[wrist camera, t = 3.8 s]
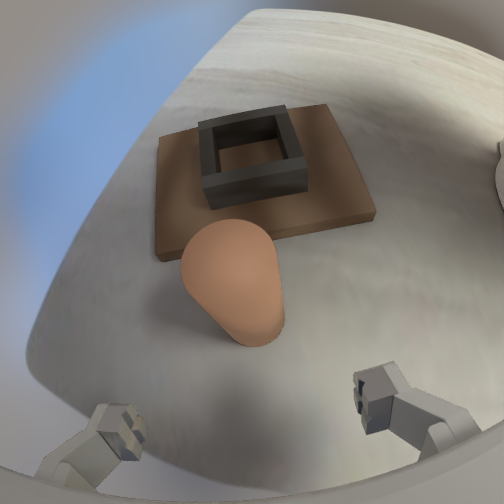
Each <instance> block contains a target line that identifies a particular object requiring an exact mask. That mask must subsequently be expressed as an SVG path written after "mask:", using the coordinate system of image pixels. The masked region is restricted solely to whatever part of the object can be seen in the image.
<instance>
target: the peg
mask: <svg viewBox="0 0 504 504" xmlns="http://www.w3.org/2000/svg"><path fill="white" fill-rule="evenodd" d="M181 277H182V281H183V283H184V286H185V288H186V289H187V291H188V292H189V293H190V295H191V296H192V297H193V298H194V299H195V300H196V301H197V302H198V303H199V304H200V305H201V306H202V307H203V308H204V309H205V310H206V311H207V313H208V314H209V315H210V316H211V317H212V318H213V319H214V320H215V321H216V322H217V323H218V324H219V325H220V326H221V327H222V328H223V329H224V330H225V331H226V332H227V333H228V334H229V335H230V336H231V337H232V338H233V339H234V340H236V341H237V342H239V343H240V344H242V345H245V346H249V347H259V346H263V345H266V344H268V343H270V342H272V341H273V340H274V339H275V338H276V337H277V336H278V335H279V334H280V332H281V331H282V328H283V326H284V321H285V313H284V305H283V297H282V290H281V282H280V274H279V266H278V259H277V252H276V248H275V245H274V243H273V241H272V239H271V238H270V236H269V235H268V234H267V233H266V232H265V231H264V230H263V229H262V228H260V227H259V226H257V225H256V224H254V223H251V222H248V221H245V220H240V219H226V220H221V221H217V222H214V223H212V224H210V225H208V226H206V227H204V228H203V229H201V230H200V231H199V232H197V233H196V234H195V235H194V236H193V237H192V239H191V240H190V241H189V243H188V244H187V246H186V248H185V250H184V252H183V255H182V259H181Z"/></svg>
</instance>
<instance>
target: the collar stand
mask: <svg viewBox="0 0 504 504" xmlns="http://www.w3.org/2000/svg"><path fill="white" fill-rule="evenodd" d="M375 213H376V209H375V207H374V204H373V202H372V199H371V197H370V194H369V192H368V190H367V187H366V185H365V183H364V180H363V178H362V176H361V174H360V171H359V169H358V167H357V165H356V163H355V160H354V158H353V156H352V154H351V152H350V150H349V148H348V146H347V144H346V141H345V139H344V137H343V135H342V133H341V131H340V129H339V127H338V125H337V123H336V121H335V120H334V118H333V116H332V114H331V112H330V110H329V108H328V106H327V104H322V105H314V106H306V107H299V108H292V109H286V106H285V105H280V106H274V107H268V108H263V109H257V110H252V111H246V112H241V113H236V114H232V115H227V116H222V117H218V118H214V119H209V120H205V121H201V122H198V127H196V128H192V129H189V130H185V131H181V132H177V133H173V134H170V135H166V136H163V137H159V147H158V163H157V184H156V217H155V255H156V256H157V257H158V258H159V259H160V260H161V261H162V262H165V261H170V260H175V259H180V258H182V255H183V252H184V250H185V248H186V246H187V244H188V243H189V241H190V240H191V239H192V237H193V236H194V235H195V234H196V233H197V232H199V231H200V230H201V229H203V228H204V227H206V226H208V225H210V224H212V223H214V222H217V221H221V220H226V219H240V220H245V221H248V222H251V223H254V224H256V225H257V226H259V227H260V228H262V229H263V230H264V231H265V232H266V233H267V234H268V235H269V236H270V238H271V239H272V240H276V239H281V238H286V237H291V236H297V235H302V234H307V233H312V232H317V231H322V230H328V229H333V228H338V227H343V226H348V225H354V224H359V223H364V222H369V221H373V219H374V216H375Z"/></svg>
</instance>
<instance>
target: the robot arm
mask: <svg viewBox="0 0 504 504" xmlns="http://www.w3.org/2000/svg"><path fill="white" fill-rule="evenodd" d="M500 153H501V158H500V161H499V162H498V165H497V167H496V172H495V182H496V188H497V192H498V196H499V199H500V201H501V204H502V206H503V209H504V138H503V139H502V141H501V142H500ZM353 381H354V383H355V386H356V387H355V388H354V389H353V390H354V401H355V405H356V409H357V412H358V413H359V414H361V422H362V425H363V428H364V430H365V433H366V435H368V434H372V433H376V432H380V431H383V430H386V429H389V430H390V431H391V432H393V433H394V434H396V435H397V436H399V437H400V438H402V439H403V440H405V441H406V442H408V443H409V444H411V445H412V446H414V447H415V448H417V449H418V450H420V451H421V453H420V456H419V459H418V461H417V462H415V463H413V464H410V465H407V466H405V467H402V468H399V469H396V470H393V471H390V472H387V473H384V474H381V475H378V476H374V477H371V478H367V479H364V480H360V481H357V482H353V483H349V484H345V485H341V486H337V487H332V488H328V489H323V490H318V491H313V492H307V493H302V494H296V495H289V496H282V497H275V498H266V499H257V500H244V501H228V502H172V501H155V500H144V499H135V498H126V497H118V496H112V495H106V494H100V493H98V492H97V491H96V490H95V488H96V487H97V486H98V485H99V484H100V483H101V482H102V481H103V480H104V479H105V478H106V477H107V476H108V475H109V474H110V472H112V471H113V470H114V468H115V467H116V466H117V465H118V464H119V463H120V462H121V460H123V461H140V458H141V454H142V451H143V447H142V445H141V444H142V443H143V442H144V441H145V440H146V437H147V426H146V423H145V421H144V419H143V418H142V417H140V416H139V415H137V412H138V410H137V408H136V407H135V405H134V404H117V403H110V404H107V403H100V404H98V405H97V407H96V409H95V411H94V413H93V415H92V417H91V419H90V421H89V423H88V425H87V427H86V429H85V431H81V432H79V433H78V434H76V435H75V436H74V437H72V438H71V439H69V440H68V441H67V442H66V443H64V444H62V445H61V446H60V447H58V448H57V449H56V450H54V451H53V452H51V453H50V454H48V455H47V456H45V457H44V459H43V461H42V463H41V464H40V466H39V468H38V471H37V473H36V474H35V477H30V476H27V475H24V474H21V473H18V472H15V471H13V470H9V469H7V468H5V467H2V466H0V504H504V420H502V421H501V422H499V423H497V424H495V425H494V426H492V427H490V428H488V429H487V430H485V431H483V432H482V431H481V429H480V428H479V426H478V425H477V423H476V422H475V420H474V419H473V417H472V416H471V415H470V413H469V412H468V410H467V409H465V408H462V407H460V406H458V405H455V404H453V403H450V402H448V401H445V400H443V399H441V398H438V397H436V396H433V395H431V394H429V393H426V392H424V391H422V390H419V389H417V388H414V389H412V388H411V387H410V385H409V383H408V382H407V380H406V378H405V377H404V375H403V374H402V372H401V370H400V369H399V367H398V366H397V364H396V362H394V361H392V362H388V363H385V364H382V365H379V366H376V367H372V368H369V369H365V370H362V371H358V372H354V375H353Z"/></svg>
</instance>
